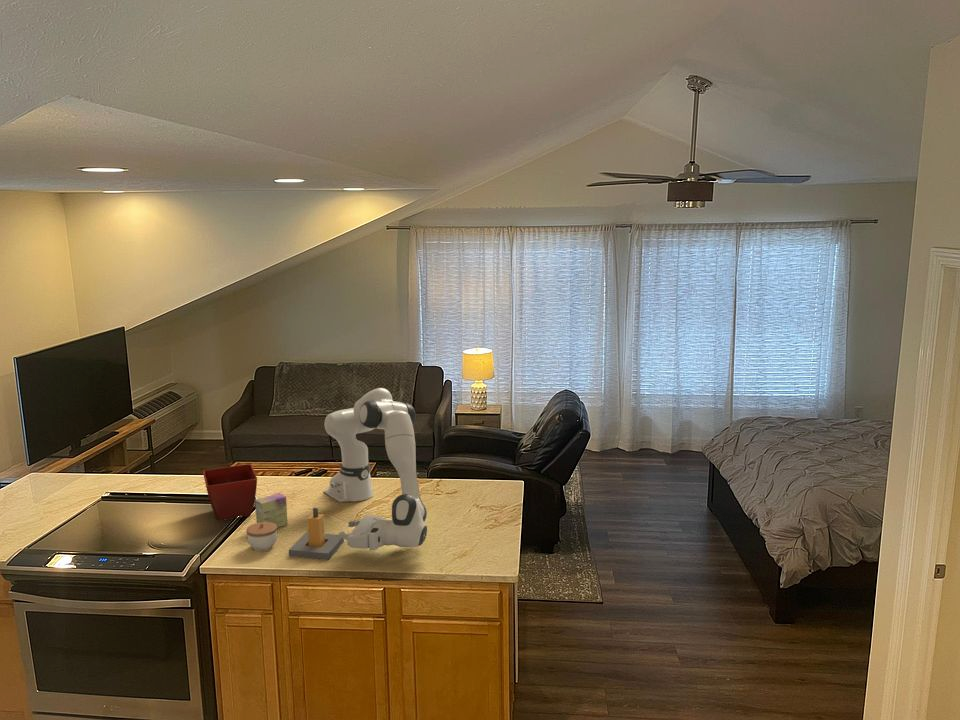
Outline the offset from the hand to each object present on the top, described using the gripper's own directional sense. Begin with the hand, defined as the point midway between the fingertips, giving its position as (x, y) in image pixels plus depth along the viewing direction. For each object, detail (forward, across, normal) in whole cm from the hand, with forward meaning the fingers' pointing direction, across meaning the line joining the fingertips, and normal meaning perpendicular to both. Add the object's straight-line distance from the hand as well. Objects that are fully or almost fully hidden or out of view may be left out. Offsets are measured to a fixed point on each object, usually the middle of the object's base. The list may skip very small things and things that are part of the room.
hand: (344, 529), depth 263 cm
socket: (+11, 0, +9) cm, 14 cm away
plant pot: (+57, -24, +9) cm, 63 cm away
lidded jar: (+31, +3, +9) cm, 32 cm away
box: (+36, -15, +9) cm, 40 cm away
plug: (+11, 0, +8) cm, 14 cm away
